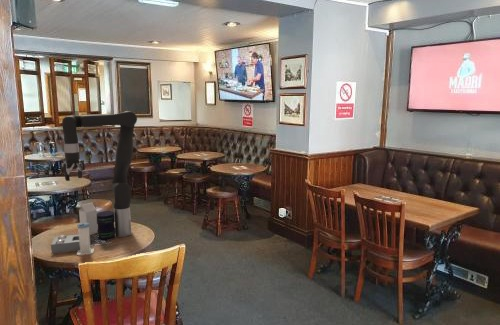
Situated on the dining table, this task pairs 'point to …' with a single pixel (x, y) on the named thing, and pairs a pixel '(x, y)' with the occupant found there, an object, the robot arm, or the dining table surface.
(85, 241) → the tumbler with domed lid
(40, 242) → the dining table surface
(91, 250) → the coaster
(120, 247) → the dining table surface
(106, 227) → the storage jar
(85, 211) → the milk carton
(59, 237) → the plunger
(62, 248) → the housing
